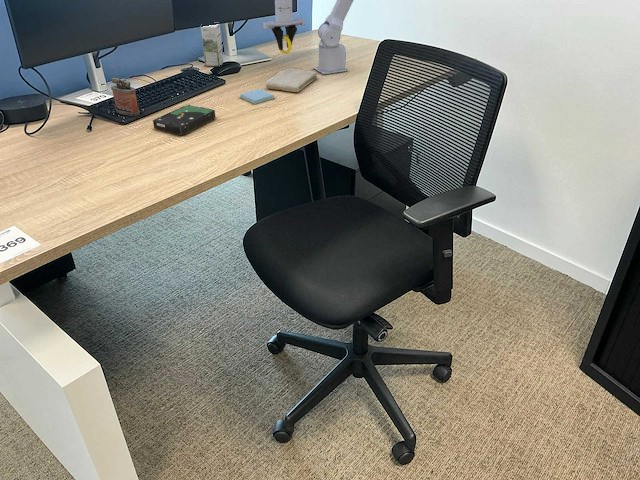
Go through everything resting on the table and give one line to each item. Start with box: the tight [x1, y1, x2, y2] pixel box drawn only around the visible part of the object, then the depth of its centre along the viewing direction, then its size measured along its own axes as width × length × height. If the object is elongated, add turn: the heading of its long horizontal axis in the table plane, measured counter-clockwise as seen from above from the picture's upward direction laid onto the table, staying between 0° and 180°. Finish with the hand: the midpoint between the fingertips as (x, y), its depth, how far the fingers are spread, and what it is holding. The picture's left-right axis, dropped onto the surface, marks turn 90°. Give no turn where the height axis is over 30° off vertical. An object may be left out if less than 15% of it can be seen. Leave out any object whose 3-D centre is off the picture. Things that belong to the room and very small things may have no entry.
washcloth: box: [265, 67, 318, 93], centre depth 180 cm, size 12×18×3 cm, turn 160°
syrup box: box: [200, 23, 224, 68], centre depth 194 cm, size 6×6×14 cm
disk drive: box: [152, 104, 217, 136], centre depth 150 cm, size 10×3×15 cm
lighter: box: [110, 77, 141, 117], centre depth 155 cm, size 8×3×10 cm, turn 65°
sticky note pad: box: [239, 88, 275, 105], centre depth 168 cm, size 8×8×1 cm
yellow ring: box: [277, 33, 292, 55], centre depth 185 cm, size 6×3×6 cm, turn 43°
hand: (284, 48), depth 186 cm, fingers closed on yellow ring, 2 cm apart
